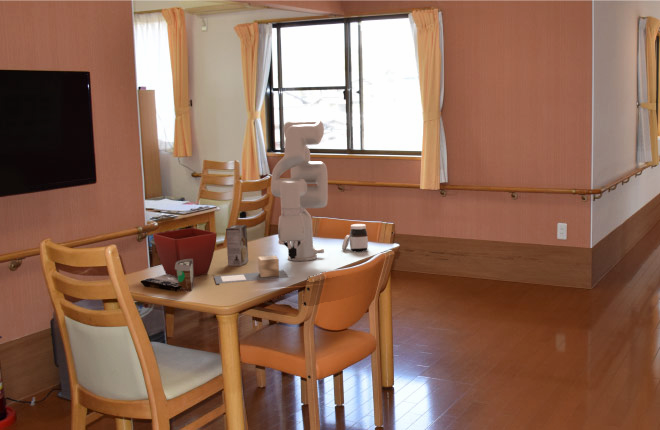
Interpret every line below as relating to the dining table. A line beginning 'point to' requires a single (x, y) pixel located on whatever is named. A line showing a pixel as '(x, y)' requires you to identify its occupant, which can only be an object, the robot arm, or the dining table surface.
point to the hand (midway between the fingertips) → (292, 258)
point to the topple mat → (245, 277)
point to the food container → (185, 274)
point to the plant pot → (185, 249)
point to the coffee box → (237, 245)
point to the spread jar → (356, 238)
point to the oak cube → (268, 266)
